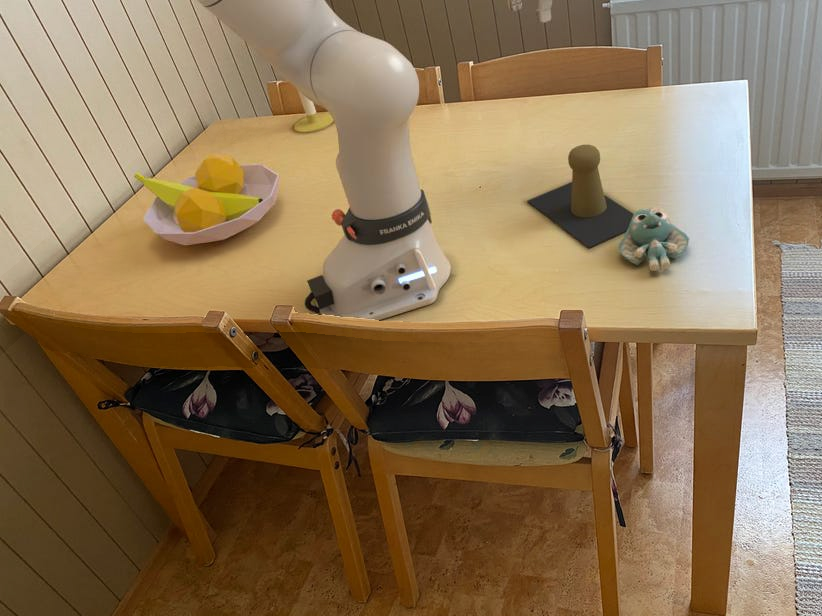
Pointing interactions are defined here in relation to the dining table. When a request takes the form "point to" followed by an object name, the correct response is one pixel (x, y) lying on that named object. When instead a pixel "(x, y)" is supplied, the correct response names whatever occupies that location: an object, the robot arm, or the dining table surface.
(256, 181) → the fruit bowl
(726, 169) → the dining table surface
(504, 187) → the dining table surface
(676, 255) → the stuffed animal
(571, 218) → the mat
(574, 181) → the cork
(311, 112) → the candle
